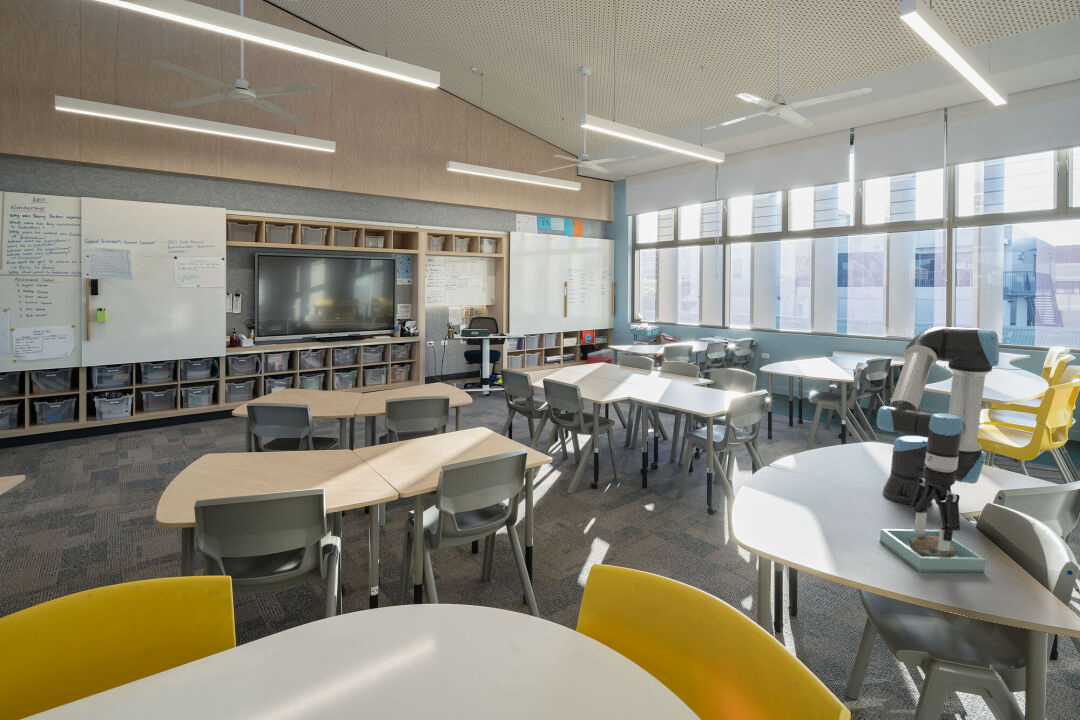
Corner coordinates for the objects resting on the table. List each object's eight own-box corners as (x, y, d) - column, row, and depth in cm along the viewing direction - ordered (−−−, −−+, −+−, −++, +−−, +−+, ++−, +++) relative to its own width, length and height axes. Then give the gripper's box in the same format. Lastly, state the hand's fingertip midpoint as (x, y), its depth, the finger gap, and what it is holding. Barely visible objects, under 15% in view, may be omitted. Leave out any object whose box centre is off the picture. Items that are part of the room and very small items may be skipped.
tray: (938, 542, 170) (939, 529, 170) (984, 572, 153) (985, 559, 152) (879, 541, 170) (881, 528, 170) (918, 571, 153) (920, 558, 152)
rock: (903, 547, 165) (905, 534, 164) (938, 546, 166) (940, 532, 165) (923, 560, 157) (925, 546, 157) (959, 559, 158) (961, 544, 158)
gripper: (902, 455, 168) (894, 524, 172) (955, 482, 147) (945, 560, 150) (926, 455, 168) (918, 524, 172) (983, 482, 147) (973, 561, 150)
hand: (930, 541), depth 161 cm, fingers open, 9 cm apart
